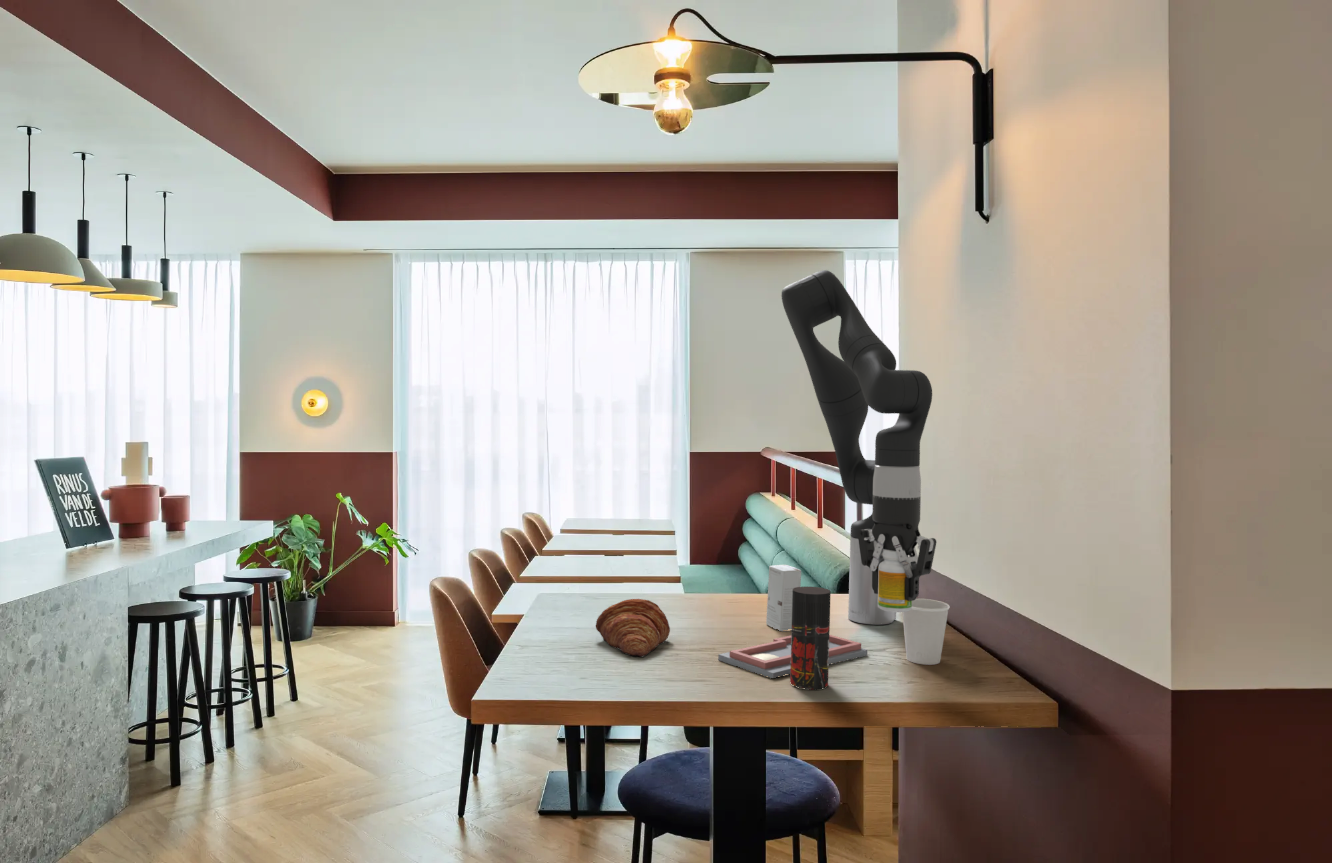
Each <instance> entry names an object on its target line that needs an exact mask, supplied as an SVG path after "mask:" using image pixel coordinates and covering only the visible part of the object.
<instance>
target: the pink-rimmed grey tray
mask: <svg viewBox="0 0 1332 863" xmlns="http://www.w3.org/2000/svg"><path fill="white" fill-rule="evenodd" d="M866 655H867V656H868V649H866V648H862V643H861V642H857V641H854V640H851V639H848V638H847V639H846V638H843V637H841V636H836V635H833V634H829V664H831V663H835V664H837V663H836V662H839V661H843V662H846V661H845V660H847V659H851V660H854V659H853V658H855V659H857V658H856V657H859V658H862V657H866ZM717 657H718V661H720V662H723V663H725V664H729V665H731V666H734V667H736V666H738V667H737V668H739V667H740V668H739V669H742V668H743V670H745V669H746V670H745V671H748V670H750V671H749V672H751V673H754V672H755V674H756V673H757V674H756V675H759V674H762V675H764V676H763V677H765V676H768V677H770V678H769V679H771V678H776V677H778V676H783V675H785V674H790V669H791V635H787V636H782V637H777V638H773V641H770V642H766V643H761V644H758V645H757V644H756V645H751V646H748V647H743V648H738V649H737V648H736V649H733V650H729V651H728V652H723V653H718V656H717ZM847 661H848V660H847ZM839 663H840V662H839ZM831 665H832V664H831ZM762 675H761V676H762ZM768 677H767V678H768ZM776 679H777V678H776Z"/></svg>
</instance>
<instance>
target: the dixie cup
mask: <svg viewBox="0 0 1332 863" xmlns="http://www.w3.org/2000/svg"><path fill="white" fill-rule="evenodd" d="M950 608H951V607H950V604H948V603H947V602H944V601H941V600H936V599H930V598H916V599H915V600H913V601H912V608H911V610H910V611H907V612H901V614H902V622H903V623H902V624H903V634H904V646H905V655H906V657H905V658H906V660H907V661H909V662H910V663H914V664H918V665H927V666H928V665H929V666H931V665H937V664H940V663H941V658H942V651H943V646H944V639H945V633H946V627H947V620H948V615H949V614H948V613H949V609H950Z"/></svg>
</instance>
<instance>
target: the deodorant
mask: <svg viewBox="0 0 1332 863" xmlns="http://www.w3.org/2000/svg"><path fill="white" fill-rule="evenodd" d="M830 621H831V590H830V589H828V588H824V587H820V586H819V587H818V586H800V587H796V588H793V591H792V630H791V631H790V633H791V634H790V636H791V669H790V675H789V679H790V681H789V683H790V682H791V684H792V685H794V686H797V687H799V688H805V689H809V690H808V691H818V690H817V689H822V688H825V687H826V686H828V687H829V666H830V665H829V635H830V630H831V628H830V627H831V624H830V623H831V622H830ZM791 684H790V685H791ZM792 685H791V686H792ZM799 688H798V689H799ZM815 689H816V690H815ZM825 689H826V688H825ZM822 690H823V689H822Z"/></svg>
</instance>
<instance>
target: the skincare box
mask: <svg viewBox="0 0 1332 863" xmlns="http://www.w3.org/2000/svg"><path fill="white" fill-rule="evenodd" d="M801 582H802V570H801V569H799V568H797V567H794V566H790V565H788V564H776V565H775V564H773V565H769V567H768V582H767V583H768V586H767V600H766V601H767V604H766V605H767V606H766V619H765V620H766V624H765V625H766V626H769V627H771V628H772V627H773V629H774V630H776V629H778V630H779V632H784V631H783V630H788V629H792V591H793V588H796V587H802V586H801V585H802V583H801ZM778 630H777V631H778Z"/></svg>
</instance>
